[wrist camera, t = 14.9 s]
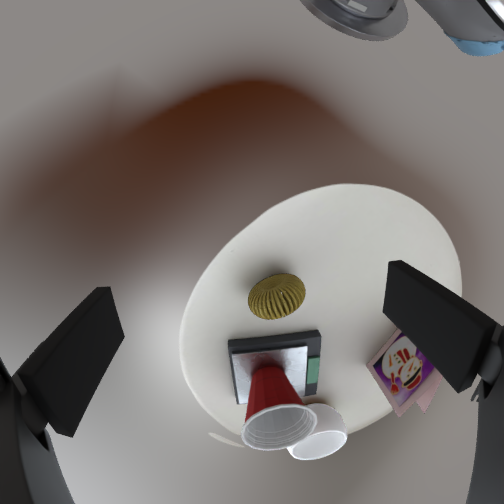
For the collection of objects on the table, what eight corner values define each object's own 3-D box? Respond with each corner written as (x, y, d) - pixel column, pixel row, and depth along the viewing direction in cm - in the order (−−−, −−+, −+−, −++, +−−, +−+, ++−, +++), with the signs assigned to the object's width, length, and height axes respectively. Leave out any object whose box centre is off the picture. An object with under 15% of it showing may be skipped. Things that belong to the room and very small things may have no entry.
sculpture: (252, 304, 41) (256, 333, 34) (242, 282, 40) (244, 307, 33) (301, 285, 41) (315, 310, 33) (293, 262, 40) (307, 283, 32)
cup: (326, 426, 52) (337, 457, 43) (275, 429, 51) (281, 463, 42) (343, 391, 49) (359, 424, 40) (286, 394, 48) (296, 431, 38)
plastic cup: (309, 385, 44) (326, 435, 32) (253, 405, 44) (259, 457, 33) (289, 343, 41) (306, 397, 29) (226, 368, 41) (226, 424, 30)
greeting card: (401, 319, 45) (445, 364, 30) (419, 332, 46) (460, 374, 32) (363, 364, 47) (396, 416, 33) (384, 373, 49) (416, 421, 34)
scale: (228, 339, 43) (227, 349, 40) (318, 329, 44) (322, 338, 41) (236, 397, 47) (237, 407, 44) (313, 387, 48) (317, 397, 45)
